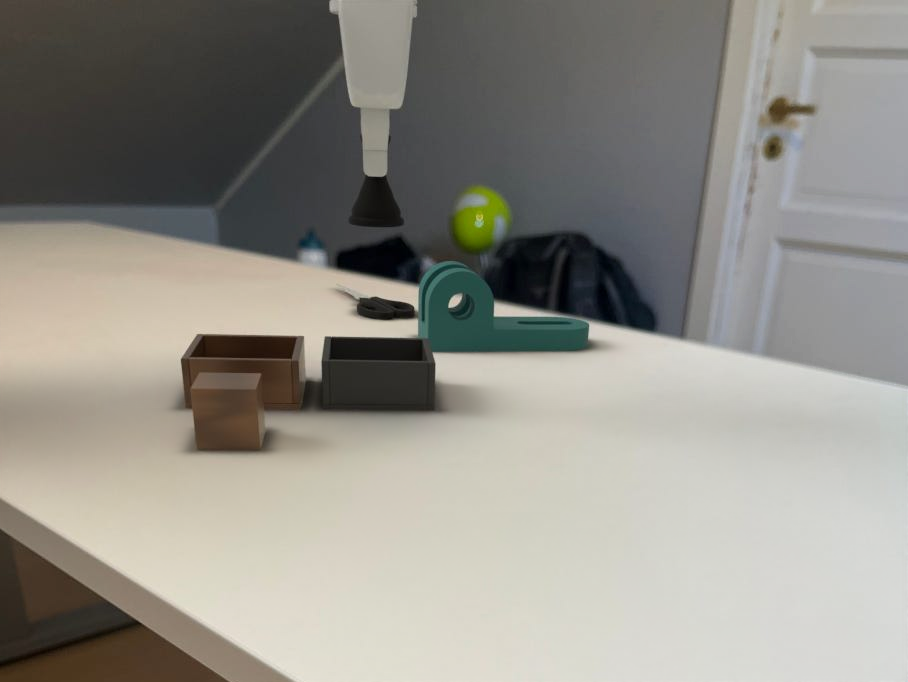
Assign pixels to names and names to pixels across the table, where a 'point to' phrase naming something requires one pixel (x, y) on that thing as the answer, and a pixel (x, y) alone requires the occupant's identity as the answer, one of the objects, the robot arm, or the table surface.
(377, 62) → the robot arm
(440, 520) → the table surface
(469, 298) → the bracket
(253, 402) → the walnut block
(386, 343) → the black bin
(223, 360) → the brown bin
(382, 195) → the chess piece
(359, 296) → the scissors
